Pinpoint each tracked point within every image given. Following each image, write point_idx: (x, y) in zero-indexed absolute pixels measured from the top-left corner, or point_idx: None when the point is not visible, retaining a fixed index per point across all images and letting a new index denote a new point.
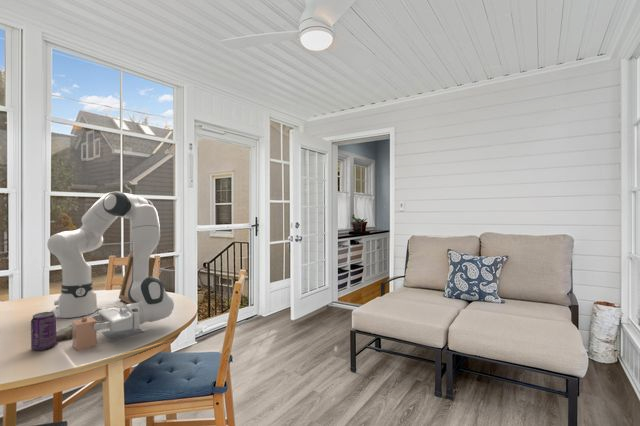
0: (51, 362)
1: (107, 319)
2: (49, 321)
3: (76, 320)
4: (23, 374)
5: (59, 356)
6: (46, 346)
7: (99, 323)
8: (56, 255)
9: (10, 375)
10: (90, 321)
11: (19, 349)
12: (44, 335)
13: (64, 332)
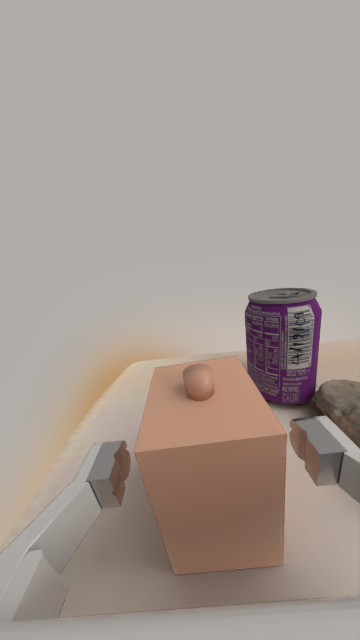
0: None
1: (61, 618)
2: (252, 319)
3: (233, 366)
4: (139, 372)
5: None
6: None
7: (85, 481)
8: None
9: (152, 362)
10: (155, 415)
11: None
12: (247, 352)
13: (353, 406)
